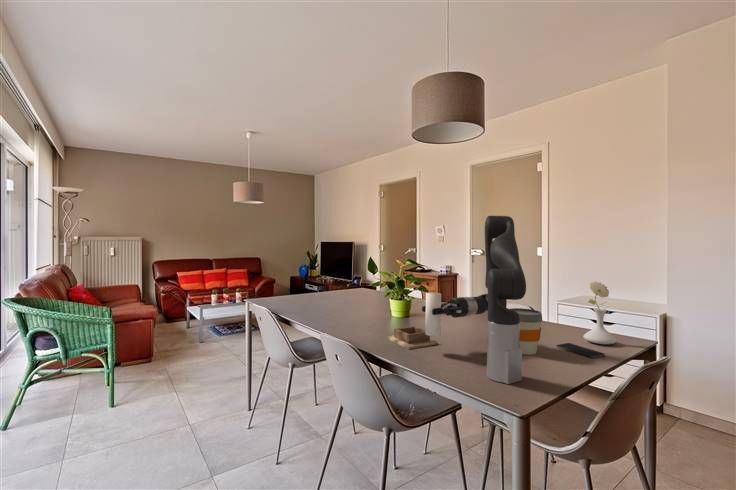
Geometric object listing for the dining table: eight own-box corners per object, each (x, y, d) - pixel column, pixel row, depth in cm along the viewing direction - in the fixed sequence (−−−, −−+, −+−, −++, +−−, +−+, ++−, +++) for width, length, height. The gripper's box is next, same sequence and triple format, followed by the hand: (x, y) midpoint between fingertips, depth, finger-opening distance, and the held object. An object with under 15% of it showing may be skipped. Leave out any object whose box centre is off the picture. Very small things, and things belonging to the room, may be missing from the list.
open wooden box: (437, 344, 144) (437, 333, 144) (408, 349, 138) (408, 337, 138) (414, 334, 159) (414, 324, 158) (387, 338, 152) (387, 327, 152)
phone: (591, 356, 129) (555, 344, 142) (591, 359, 129) (555, 347, 142) (606, 354, 132) (569, 342, 146) (606, 357, 132) (569, 345, 146)
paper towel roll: (443, 335, 133) (444, 294, 133) (431, 336, 130) (432, 294, 130) (434, 331, 138) (434, 292, 138) (422, 333, 135) (422, 292, 135)
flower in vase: (623, 347, 143) (624, 284, 142) (593, 346, 143) (595, 283, 143) (602, 337, 156) (603, 280, 155) (575, 337, 156) (576, 279, 156)
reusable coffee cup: (545, 357, 130) (546, 315, 129) (508, 354, 132) (509, 314, 132) (536, 347, 142) (537, 309, 142) (503, 344, 144) (503, 307, 144)
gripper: (450, 294, 147) (416, 297, 139) (476, 299, 134) (440, 303, 126) (450, 313, 147) (415, 316, 139) (476, 320, 134) (440, 324, 126)
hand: (427, 310), depth 133 cm, fingers closed on paper towel roll, 5 cm apart
